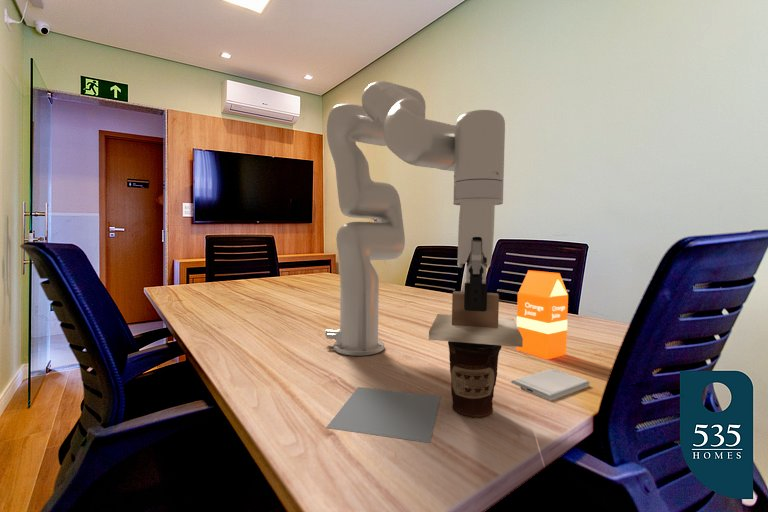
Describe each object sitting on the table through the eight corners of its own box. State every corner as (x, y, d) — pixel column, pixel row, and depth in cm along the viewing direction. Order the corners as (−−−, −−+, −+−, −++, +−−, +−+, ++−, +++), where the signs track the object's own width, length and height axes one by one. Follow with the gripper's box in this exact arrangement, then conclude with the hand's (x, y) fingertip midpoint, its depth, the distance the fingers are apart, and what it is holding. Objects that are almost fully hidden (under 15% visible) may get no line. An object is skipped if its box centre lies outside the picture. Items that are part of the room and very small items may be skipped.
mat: (326, 430, 53) (326, 427, 53) (358, 389, 68) (358, 386, 68) (429, 445, 49) (429, 442, 49) (440, 398, 64) (440, 396, 64)
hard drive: (550, 367, 77) (511, 378, 70) (589, 380, 70) (550, 394, 64) (550, 375, 77) (510, 387, 71) (589, 389, 70) (549, 403, 64)
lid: (428, 339, 54) (429, 297, 54) (437, 320, 67) (438, 286, 66) (522, 347, 51) (524, 302, 51) (513, 325, 63) (514, 289, 63)
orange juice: (547, 359, 85) (550, 273, 84) (515, 349, 93) (517, 270, 92) (566, 354, 90) (569, 272, 89) (534, 345, 97) (537, 269, 96)
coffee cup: (502, 428, 54) (505, 341, 54) (445, 422, 56) (447, 337, 55) (496, 402, 63) (499, 327, 62) (447, 397, 64) (449, 324, 64)
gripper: (456, 200, 67) (454, 295, 68) (449, 188, 50) (447, 314, 51) (499, 200, 65) (497, 297, 66) (507, 186, 48) (504, 318, 49)
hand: (475, 304), depth 58 cm, fingers open, 8 cm apart
